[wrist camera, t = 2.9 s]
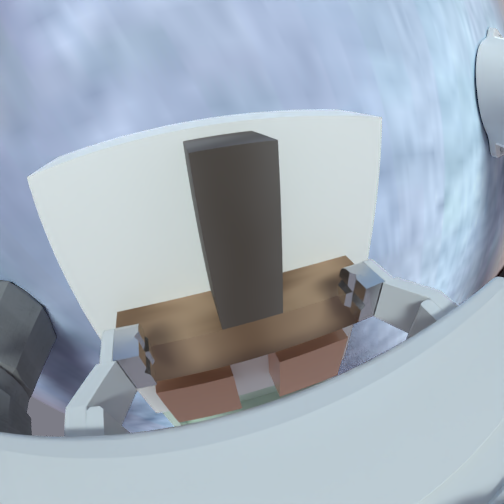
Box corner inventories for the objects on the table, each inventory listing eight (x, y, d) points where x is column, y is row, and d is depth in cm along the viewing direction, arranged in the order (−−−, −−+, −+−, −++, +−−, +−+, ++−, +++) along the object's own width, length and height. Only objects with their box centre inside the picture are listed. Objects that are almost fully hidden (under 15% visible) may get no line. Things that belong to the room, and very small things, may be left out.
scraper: (354, 125, 12) (394, 135, 10) (340, 291, 18) (363, 319, 16) (63, 174, 9) (37, 196, 7) (135, 345, 15) (136, 384, 13)
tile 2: (224, 346, 18) (233, 376, 16) (233, 382, 20) (242, 408, 18) (152, 362, 17) (155, 393, 14) (174, 396, 19) (179, 422, 17)
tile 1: (330, 313, 19) (348, 337, 17) (323, 353, 22) (337, 374, 20) (266, 334, 18) (279, 362, 16) (268, 372, 21) (279, 396, 19)
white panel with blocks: (337, 109, 16) (381, 117, 12) (322, 328, 27) (343, 359, 24) (58, 156, 12) (27, 177, 9) (152, 374, 24) (156, 413, 20)
